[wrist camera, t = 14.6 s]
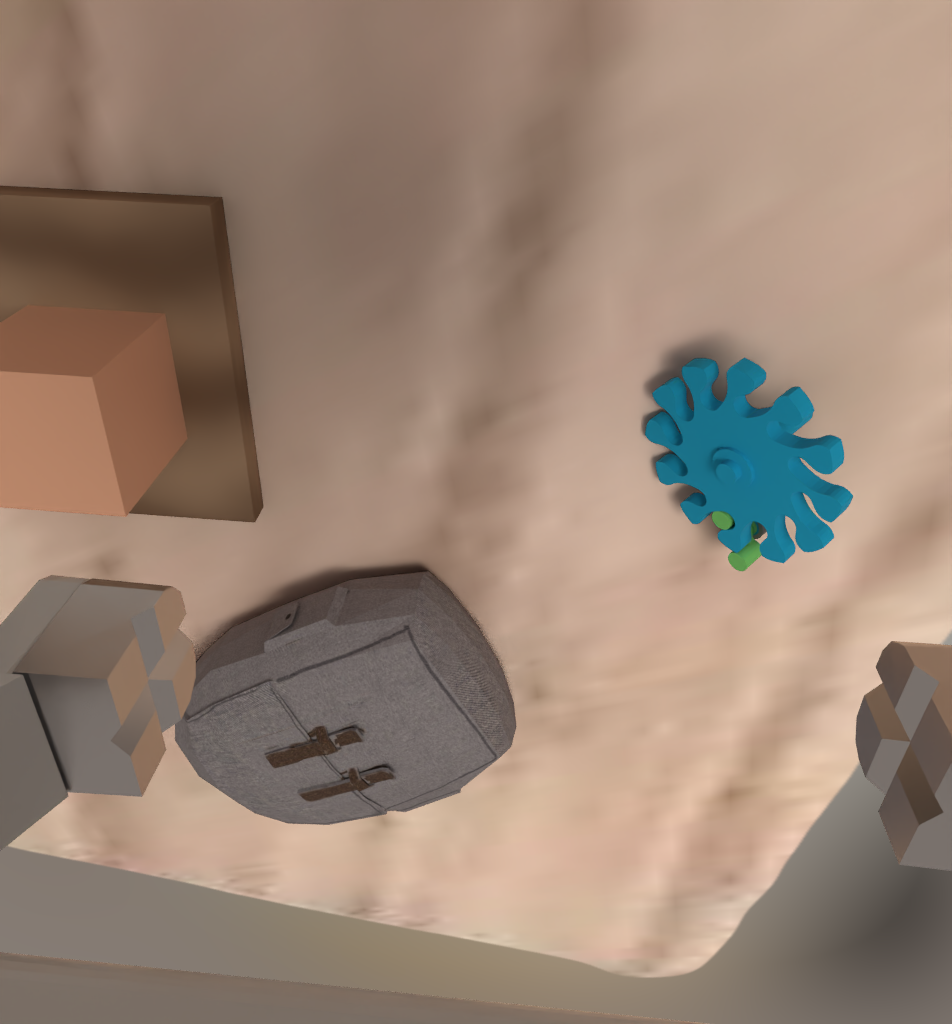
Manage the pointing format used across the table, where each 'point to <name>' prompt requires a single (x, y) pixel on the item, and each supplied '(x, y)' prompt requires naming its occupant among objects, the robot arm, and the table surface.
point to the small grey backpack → (349, 703)
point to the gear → (747, 462)
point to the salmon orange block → (85, 408)
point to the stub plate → (155, 289)
